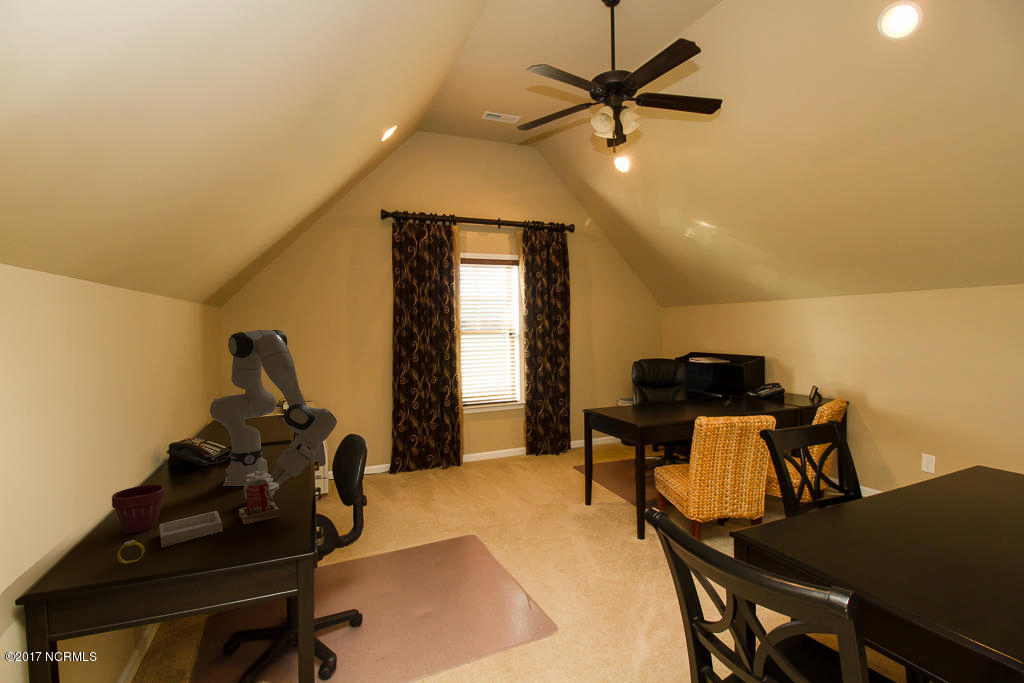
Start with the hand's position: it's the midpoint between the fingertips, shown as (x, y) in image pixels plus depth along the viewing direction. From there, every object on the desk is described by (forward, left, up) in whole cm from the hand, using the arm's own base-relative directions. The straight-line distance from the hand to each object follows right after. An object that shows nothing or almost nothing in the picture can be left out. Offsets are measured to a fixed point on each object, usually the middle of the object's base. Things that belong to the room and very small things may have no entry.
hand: (275, 480), depth 169 cm
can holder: (0, -6, -11) cm, 13 cm away
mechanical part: (-17, -2, -12) cm, 21 cm away
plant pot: (-18, -39, -12) cm, 44 cm away
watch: (+12, -41, -12) cm, 44 cm away
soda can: (0, -6, -12) cm, 13 cm away
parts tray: (0, -26, -11) cm, 28 cm away
